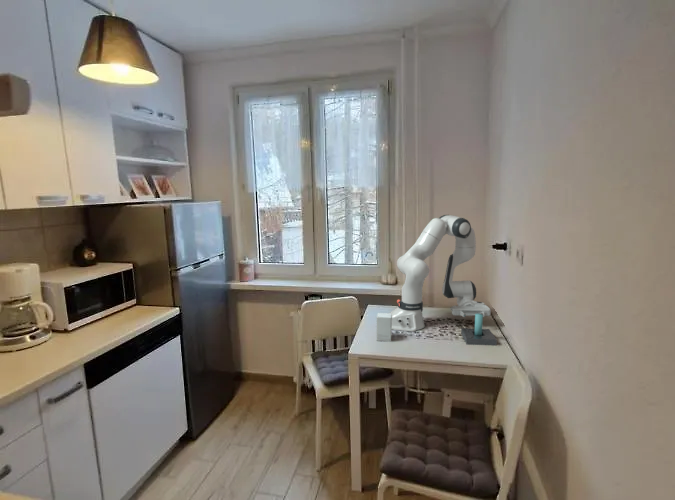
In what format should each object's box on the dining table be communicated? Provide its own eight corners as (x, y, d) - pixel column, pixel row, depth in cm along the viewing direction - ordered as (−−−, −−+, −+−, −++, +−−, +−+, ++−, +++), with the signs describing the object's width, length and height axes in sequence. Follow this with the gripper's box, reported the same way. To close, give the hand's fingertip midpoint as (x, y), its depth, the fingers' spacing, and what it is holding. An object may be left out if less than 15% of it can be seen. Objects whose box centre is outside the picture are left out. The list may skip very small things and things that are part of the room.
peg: (475, 340, 189) (476, 315, 187) (473, 337, 192) (474, 313, 190) (482, 340, 188) (483, 315, 186) (480, 338, 192) (481, 313, 190)
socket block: (466, 344, 184) (466, 338, 184) (461, 333, 198) (461, 328, 198) (496, 345, 183) (496, 339, 182) (488, 334, 196) (489, 329, 196)
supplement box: (391, 341, 189) (391, 317, 187) (376, 341, 191) (376, 317, 189) (391, 336, 196) (391, 313, 194) (377, 335, 198) (377, 312, 196)
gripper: (449, 301, 215) (453, 309, 201) (486, 302, 212) (493, 310, 198) (449, 312, 216) (453, 320, 202) (486, 313, 213) (493, 321, 199)
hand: (473, 315), depth 200 cm, fingers open, 8 cm apart
